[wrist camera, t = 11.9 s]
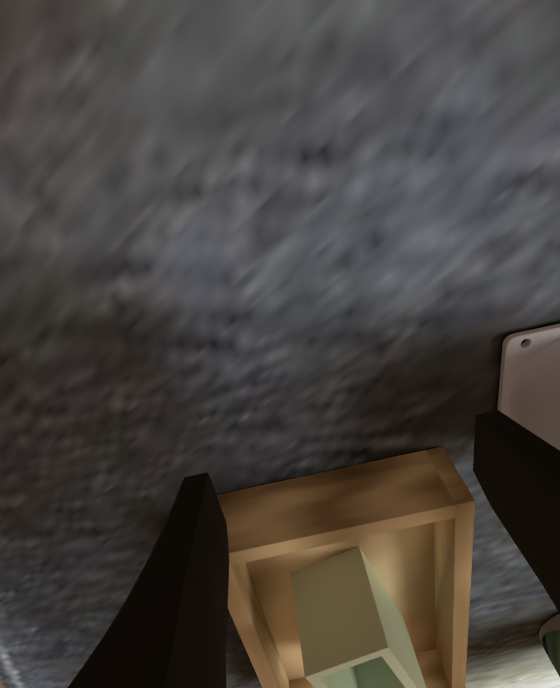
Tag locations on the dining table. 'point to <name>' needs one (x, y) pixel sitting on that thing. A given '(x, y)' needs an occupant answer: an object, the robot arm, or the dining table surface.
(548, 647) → the lotion bottle
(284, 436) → the dining table surface
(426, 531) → the pine crate
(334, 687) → the small crate
